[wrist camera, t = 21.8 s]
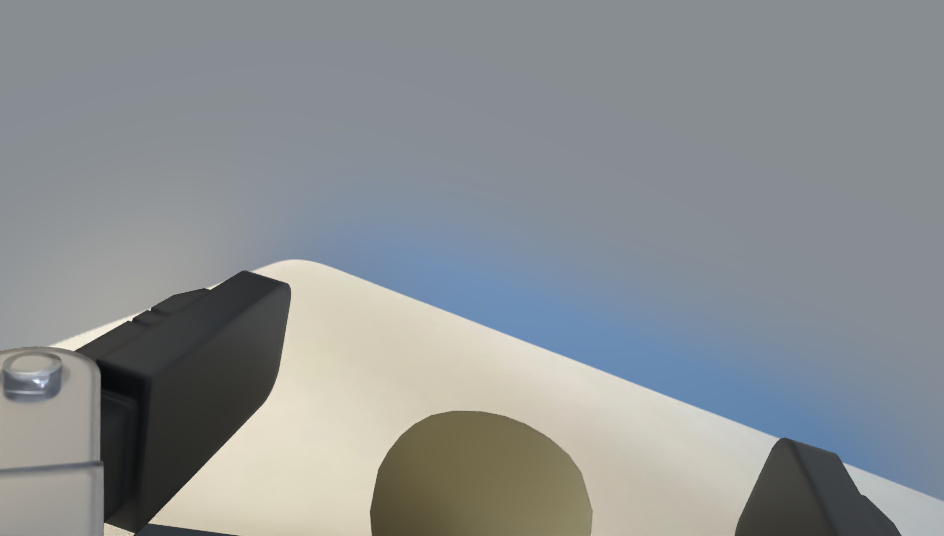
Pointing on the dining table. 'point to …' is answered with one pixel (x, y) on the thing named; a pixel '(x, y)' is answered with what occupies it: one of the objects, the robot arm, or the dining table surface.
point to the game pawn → (478, 481)
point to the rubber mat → (173, 531)
